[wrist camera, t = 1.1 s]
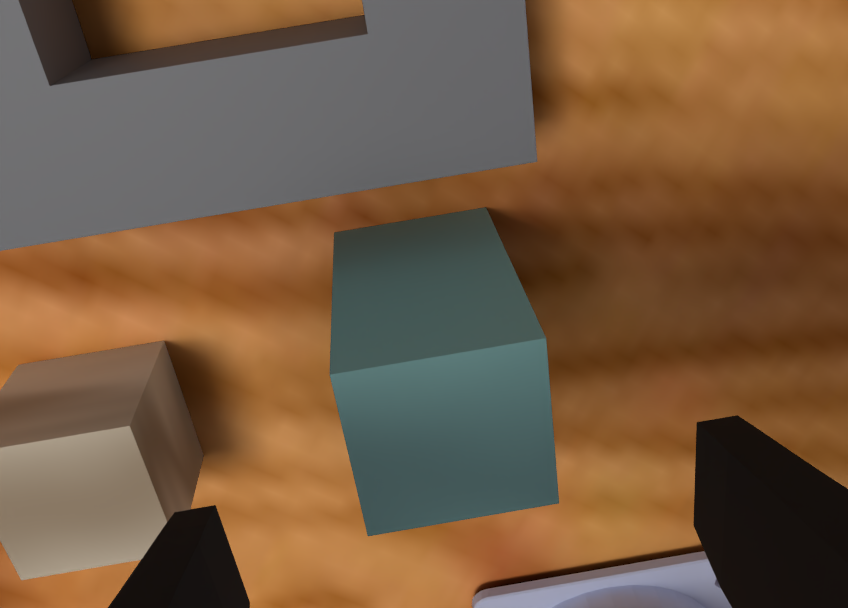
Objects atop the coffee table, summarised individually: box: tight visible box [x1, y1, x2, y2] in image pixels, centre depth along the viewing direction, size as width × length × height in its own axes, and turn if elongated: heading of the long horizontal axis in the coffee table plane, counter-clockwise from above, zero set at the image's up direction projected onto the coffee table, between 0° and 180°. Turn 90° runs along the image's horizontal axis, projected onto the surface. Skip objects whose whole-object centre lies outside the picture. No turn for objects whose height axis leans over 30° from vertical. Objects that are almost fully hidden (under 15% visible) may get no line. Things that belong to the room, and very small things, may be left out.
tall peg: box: [330, 207, 559, 536], centre depth 16 cm, size 4×4×6 cm
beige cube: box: [0, 341, 204, 580], centre depth 18 cm, size 4×4×4 cm
